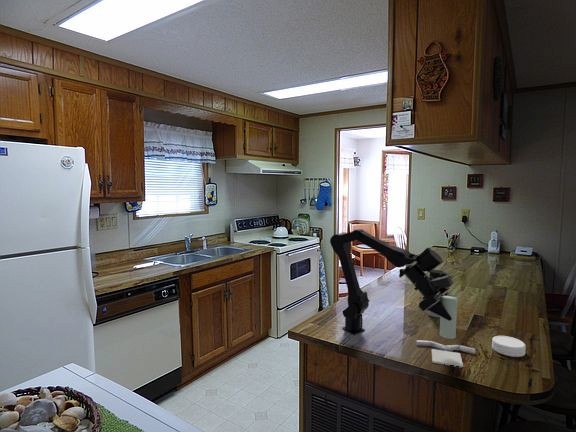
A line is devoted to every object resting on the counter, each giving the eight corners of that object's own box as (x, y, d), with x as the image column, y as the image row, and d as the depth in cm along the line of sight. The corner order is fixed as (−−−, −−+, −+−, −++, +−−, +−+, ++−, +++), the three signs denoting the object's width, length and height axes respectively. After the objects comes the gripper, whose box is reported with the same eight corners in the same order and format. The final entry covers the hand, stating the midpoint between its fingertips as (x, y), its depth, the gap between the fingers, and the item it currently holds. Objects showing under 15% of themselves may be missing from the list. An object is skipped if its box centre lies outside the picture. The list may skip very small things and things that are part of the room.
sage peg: (445, 339, 115) (447, 301, 114) (436, 333, 120) (437, 296, 119) (458, 338, 116) (460, 300, 115) (449, 331, 121) (450, 295, 120)
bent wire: (416, 347, 125) (416, 342, 125) (416, 342, 128) (416, 338, 128) (475, 356, 118) (476, 351, 118) (474, 351, 122) (474, 346, 122)
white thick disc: (520, 346, 126) (520, 337, 125) (529, 359, 116) (530, 349, 116) (488, 342, 129) (489, 333, 129) (495, 354, 120) (495, 345, 119)
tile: (432, 362, 114) (432, 360, 114) (431, 350, 122) (431, 348, 122) (463, 367, 111) (463, 365, 111) (459, 354, 119) (460, 353, 119)
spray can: (439, 312, 159) (441, 269, 157) (446, 318, 152) (448, 273, 150) (425, 312, 159) (426, 269, 157) (431, 318, 152) (433, 273, 150)
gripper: (430, 271, 111) (467, 312, 105) (444, 261, 126) (477, 297, 120) (404, 291, 116) (438, 331, 111) (421, 279, 131) (451, 314, 126)
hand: (452, 317), depth 117 cm, fingers closed on sage peg, 5 cm apart
